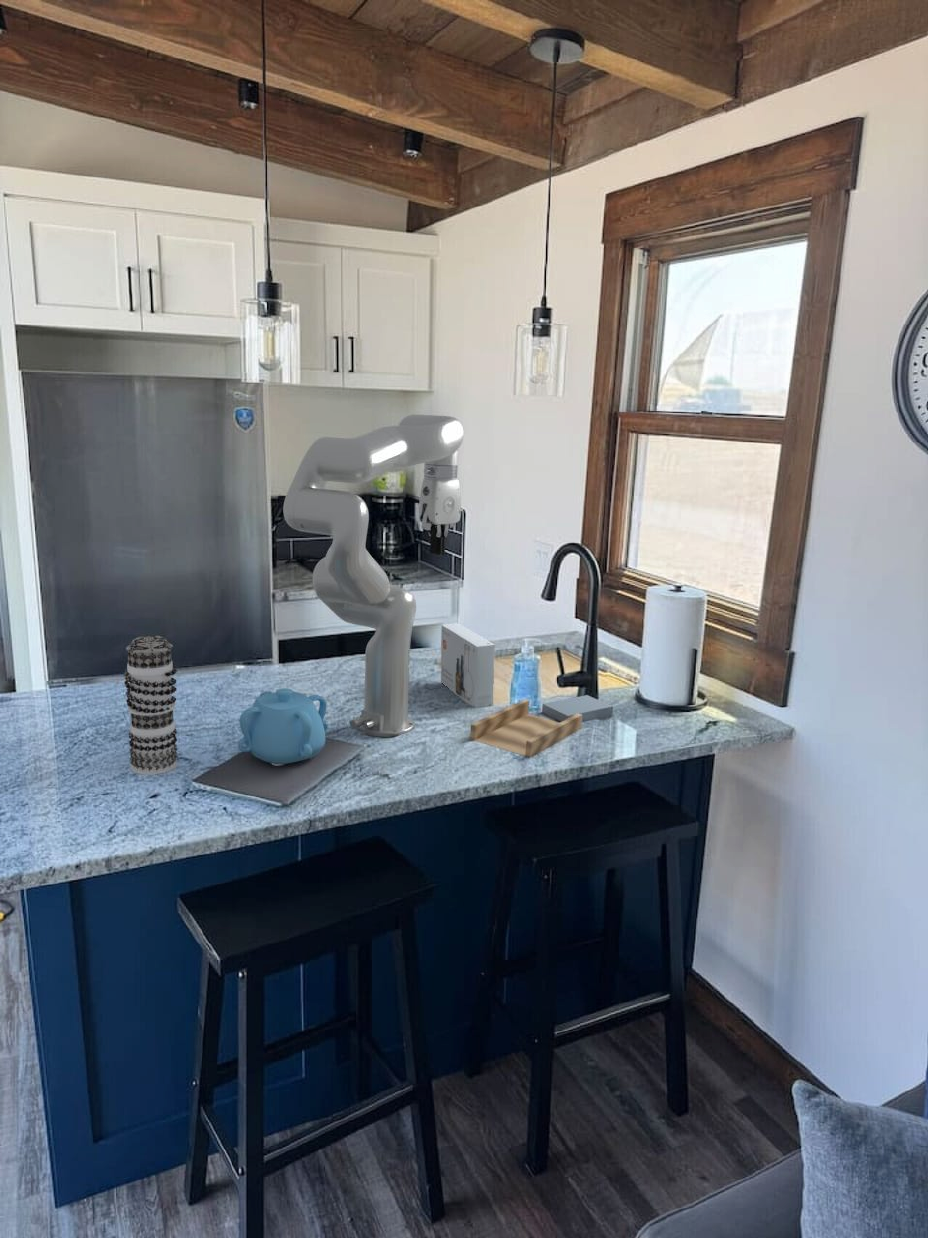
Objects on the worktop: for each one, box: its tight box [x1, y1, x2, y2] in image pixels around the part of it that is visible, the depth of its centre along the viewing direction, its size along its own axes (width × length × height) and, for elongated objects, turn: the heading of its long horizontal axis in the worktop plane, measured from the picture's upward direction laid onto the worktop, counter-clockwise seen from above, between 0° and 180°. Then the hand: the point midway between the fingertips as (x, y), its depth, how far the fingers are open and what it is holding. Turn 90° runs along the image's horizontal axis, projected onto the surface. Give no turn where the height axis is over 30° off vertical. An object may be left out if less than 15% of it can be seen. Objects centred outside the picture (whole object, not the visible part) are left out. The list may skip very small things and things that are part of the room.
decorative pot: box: [237, 687, 329, 765], centre depth 167 cm, size 16×16×14 cm
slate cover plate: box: [541, 694, 614, 722], centre depth 199 cm, size 14×9×3 cm, turn 124°
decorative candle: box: [123, 635, 179, 776], centre depth 157 cm, size 9×9×25 cm
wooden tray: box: [469, 699, 583, 758], centre depth 184 cm, size 22×15×4 cm
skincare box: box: [440, 622, 496, 708], centre depth 208 cm, size 21×6×16 cm, turn 25°
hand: (437, 553), depth 195 cm, fingers closed
